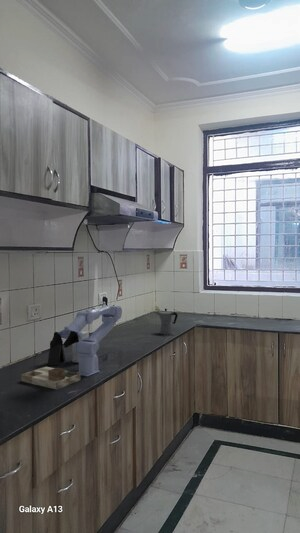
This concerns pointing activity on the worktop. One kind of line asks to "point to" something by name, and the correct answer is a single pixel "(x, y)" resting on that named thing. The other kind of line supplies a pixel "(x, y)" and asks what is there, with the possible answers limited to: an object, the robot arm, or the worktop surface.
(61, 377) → the walnut block
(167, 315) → the coffeepot
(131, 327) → the worktop surface
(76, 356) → the skincare box
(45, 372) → the trap board
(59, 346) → the phone stand
